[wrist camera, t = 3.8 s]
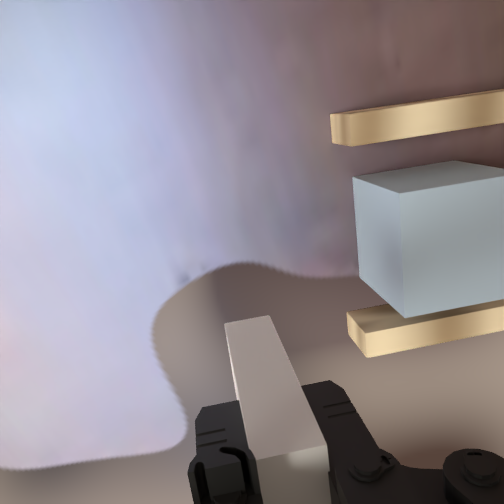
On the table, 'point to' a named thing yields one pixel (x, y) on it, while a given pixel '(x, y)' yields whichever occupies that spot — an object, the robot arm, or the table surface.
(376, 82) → the table surface
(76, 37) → the table surface
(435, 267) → the block
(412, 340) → the channel
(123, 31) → the table surface
